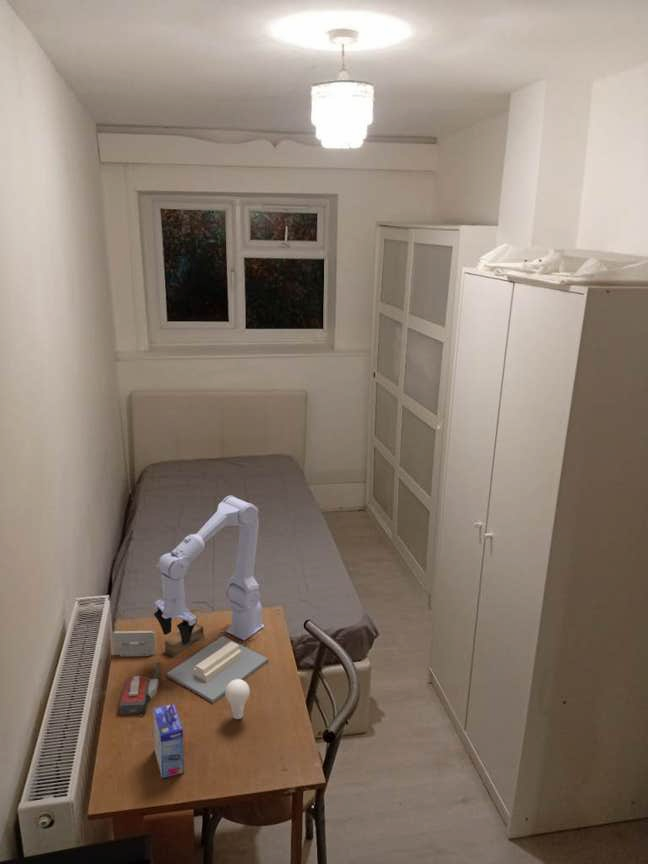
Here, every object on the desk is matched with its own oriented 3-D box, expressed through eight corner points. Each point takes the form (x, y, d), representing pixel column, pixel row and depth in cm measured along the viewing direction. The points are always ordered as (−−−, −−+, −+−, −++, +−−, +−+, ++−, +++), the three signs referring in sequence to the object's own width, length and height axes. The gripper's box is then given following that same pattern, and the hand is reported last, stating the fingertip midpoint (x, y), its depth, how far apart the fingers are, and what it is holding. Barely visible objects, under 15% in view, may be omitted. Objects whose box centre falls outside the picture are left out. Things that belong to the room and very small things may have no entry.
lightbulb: (240, 706, 172) (239, 670, 169) (255, 718, 168) (254, 682, 165) (221, 717, 168) (220, 681, 165) (235, 730, 164) (234, 693, 161)
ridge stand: (222, 638, 200) (222, 625, 199) (267, 661, 190) (267, 648, 189) (167, 676, 183) (166, 662, 182) (213, 703, 173) (212, 689, 172)
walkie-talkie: (152, 716, 169) (162, 667, 188) (151, 702, 167) (161, 654, 186) (117, 719, 168) (130, 669, 187) (116, 704, 166) (129, 655, 185)
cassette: (113, 657, 191) (111, 634, 189) (115, 653, 193) (112, 630, 191) (155, 656, 192) (153, 633, 190) (156, 652, 194) (154, 629, 191)
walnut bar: (195, 633, 203) (195, 622, 202) (203, 638, 201) (203, 626, 200) (165, 653, 194) (164, 641, 192) (173, 657, 192) (172, 645, 191)
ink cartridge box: (186, 773, 151) (183, 721, 147) (161, 780, 149) (158, 727, 145) (177, 743, 160) (174, 693, 155) (154, 749, 158) (150, 699, 153)
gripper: (144, 593, 181) (148, 635, 186) (181, 610, 173) (184, 654, 178) (164, 582, 187) (167, 623, 191) (200, 599, 179) (203, 641, 183)
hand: (176, 637), depth 185 cm, fingers open, 7 cm apart
